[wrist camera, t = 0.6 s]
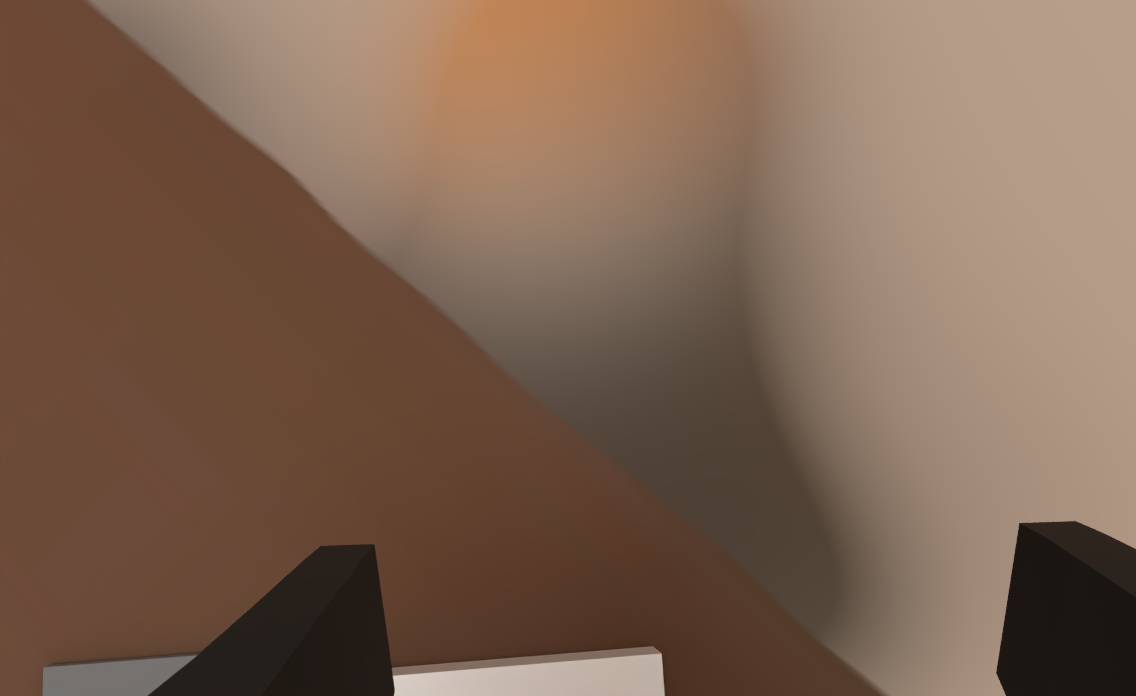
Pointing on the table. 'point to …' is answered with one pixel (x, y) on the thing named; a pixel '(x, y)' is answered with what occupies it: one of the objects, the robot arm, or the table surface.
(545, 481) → the table surface
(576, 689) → the white riser
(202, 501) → the table surface
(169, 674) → the charcoal mat
